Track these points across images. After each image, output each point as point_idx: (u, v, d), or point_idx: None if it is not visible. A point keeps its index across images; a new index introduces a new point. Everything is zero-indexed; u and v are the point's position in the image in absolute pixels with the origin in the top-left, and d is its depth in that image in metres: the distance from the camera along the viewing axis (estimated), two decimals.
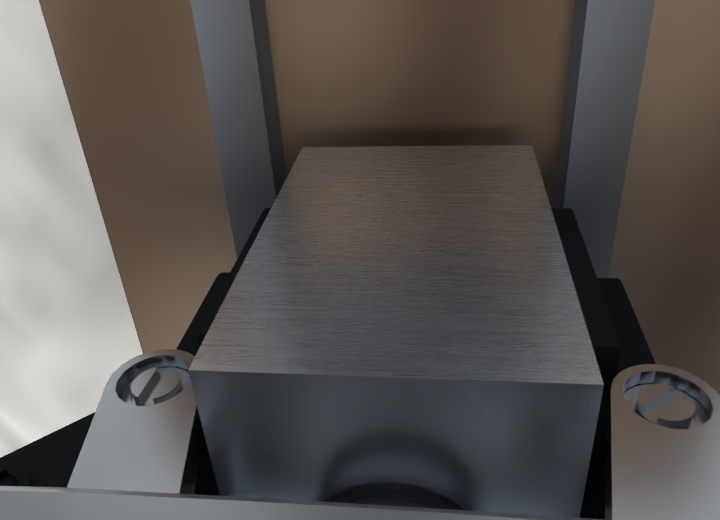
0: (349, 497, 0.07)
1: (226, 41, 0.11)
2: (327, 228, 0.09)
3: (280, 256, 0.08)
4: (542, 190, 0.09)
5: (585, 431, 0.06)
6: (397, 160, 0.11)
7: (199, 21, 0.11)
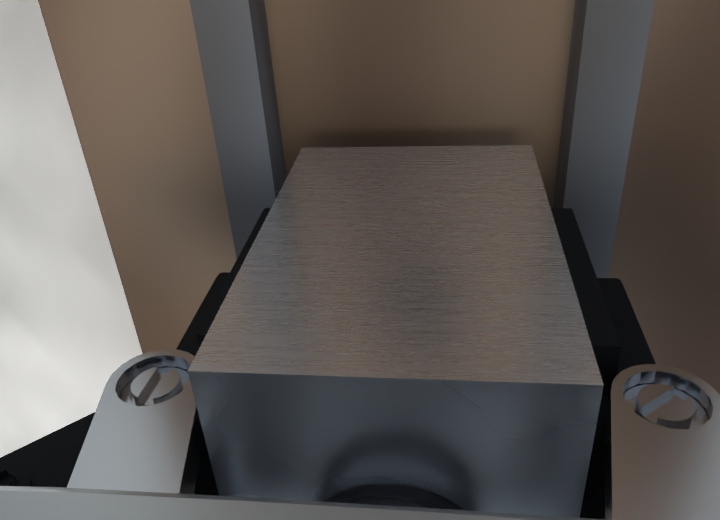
0: (348, 497, 0.07)
1: None
2: (327, 230, 0.09)
3: (280, 256, 0.08)
4: (541, 191, 0.09)
5: (585, 432, 0.06)
6: (397, 160, 0.11)
7: None
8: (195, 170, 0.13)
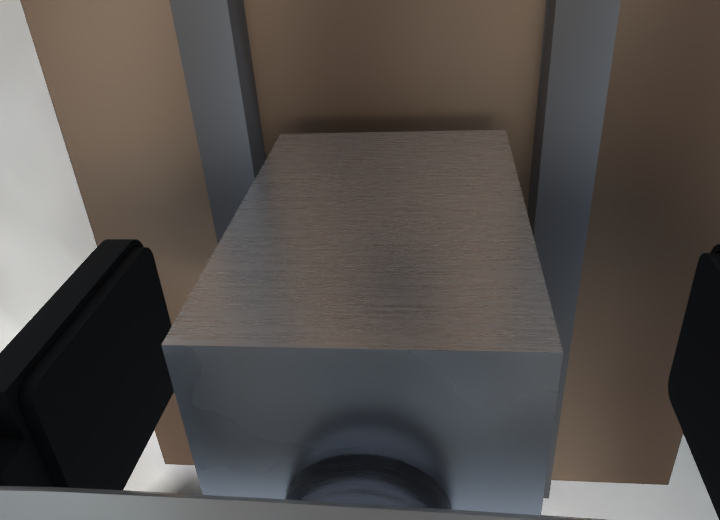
0: (322, 469, 0.07)
1: None
2: (302, 211, 0.09)
3: (255, 237, 0.08)
4: (513, 173, 0.10)
5: (547, 399, 0.06)
6: (373, 145, 0.11)
7: None
8: (176, 156, 0.14)
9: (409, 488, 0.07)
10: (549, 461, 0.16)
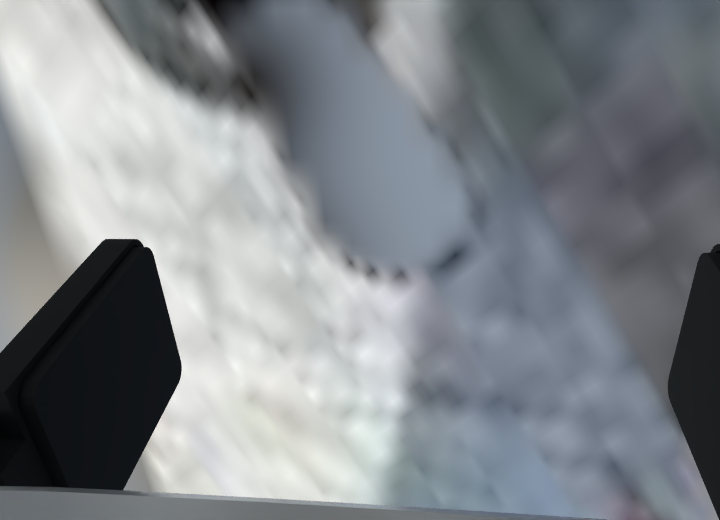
0: None
1: None
2: None
3: None
4: None
5: None
6: None
7: None
8: None
9: None
10: None
